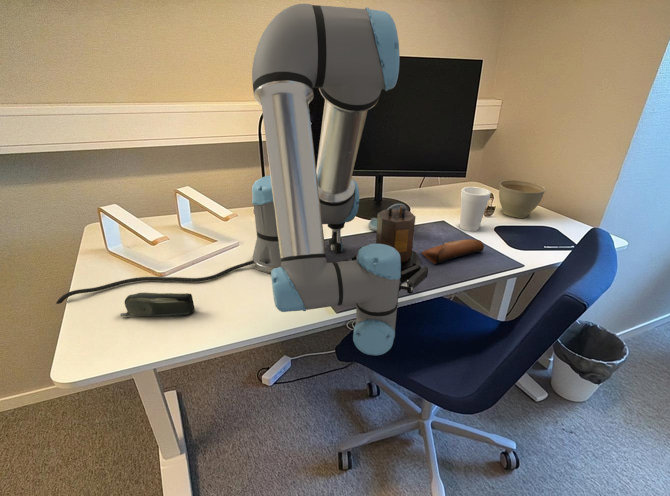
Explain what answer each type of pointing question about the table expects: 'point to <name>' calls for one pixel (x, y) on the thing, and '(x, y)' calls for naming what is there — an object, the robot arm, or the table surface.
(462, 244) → the sunglasses case
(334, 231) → the push button
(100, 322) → the table surface
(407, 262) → the base
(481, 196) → the foam cup
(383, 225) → the pen carousel
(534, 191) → the planter bowl
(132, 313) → the dark green rounded block
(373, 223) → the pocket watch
